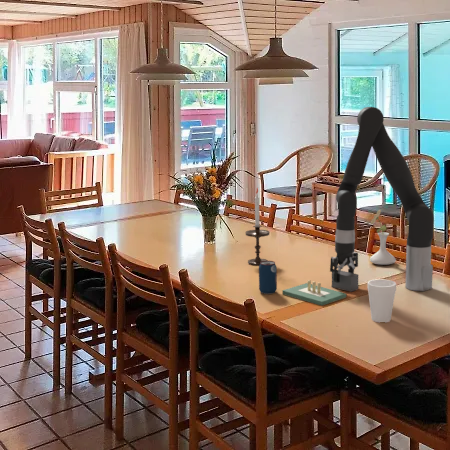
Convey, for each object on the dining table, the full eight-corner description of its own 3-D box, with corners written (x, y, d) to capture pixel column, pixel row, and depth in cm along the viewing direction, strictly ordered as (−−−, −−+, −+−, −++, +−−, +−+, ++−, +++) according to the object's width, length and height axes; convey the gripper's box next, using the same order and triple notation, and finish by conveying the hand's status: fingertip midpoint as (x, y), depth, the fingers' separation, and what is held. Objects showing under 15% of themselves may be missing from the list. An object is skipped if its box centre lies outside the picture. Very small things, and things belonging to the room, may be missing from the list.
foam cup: (361, 319, 232) (362, 283, 229) (376, 313, 238) (377, 277, 236) (385, 326, 225) (386, 288, 223) (400, 319, 232) (401, 282, 229)
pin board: (346, 297, 257) (346, 283, 256) (321, 305, 248) (321, 291, 247) (306, 286, 272) (306, 273, 270) (282, 294, 263) (282, 280, 261)
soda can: (280, 292, 264) (280, 263, 262) (265, 295, 261) (264, 265, 259) (270, 288, 270) (270, 259, 268) (255, 291, 267) (255, 261, 265)
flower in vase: (380, 259, 311) (381, 205, 306) (400, 263, 302) (402, 208, 297) (362, 264, 303) (362, 209, 298) (382, 269, 294) (384, 212, 289)
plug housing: (358, 289, 266) (358, 274, 265) (350, 291, 263) (351, 276, 262) (339, 284, 273) (339, 270, 272) (331, 286, 270) (331, 272, 269)
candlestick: (258, 258, 317) (257, 184, 310) (274, 262, 309) (273, 186, 302) (241, 262, 310) (239, 187, 303) (257, 267, 302) (256, 189, 295)
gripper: (340, 244, 257) (339, 285, 260) (364, 239, 266) (362, 278, 270) (325, 241, 263) (324, 281, 266) (349, 236, 272) (347, 274, 275)
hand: (343, 280), depth 268 cm, fingers open, 8 cm apart
